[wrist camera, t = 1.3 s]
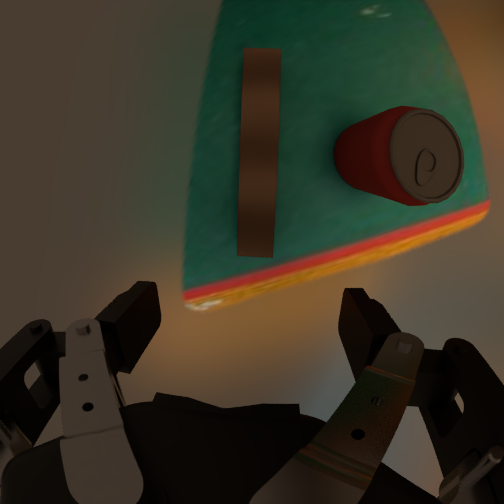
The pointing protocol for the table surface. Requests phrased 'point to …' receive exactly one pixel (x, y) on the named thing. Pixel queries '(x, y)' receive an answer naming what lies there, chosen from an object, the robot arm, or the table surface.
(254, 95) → the walnut plank
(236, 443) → the robot arm
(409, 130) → the beer can
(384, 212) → the table surface
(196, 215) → the table surface
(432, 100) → the table surface
